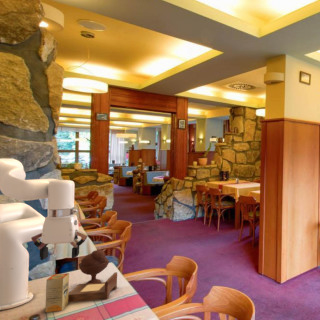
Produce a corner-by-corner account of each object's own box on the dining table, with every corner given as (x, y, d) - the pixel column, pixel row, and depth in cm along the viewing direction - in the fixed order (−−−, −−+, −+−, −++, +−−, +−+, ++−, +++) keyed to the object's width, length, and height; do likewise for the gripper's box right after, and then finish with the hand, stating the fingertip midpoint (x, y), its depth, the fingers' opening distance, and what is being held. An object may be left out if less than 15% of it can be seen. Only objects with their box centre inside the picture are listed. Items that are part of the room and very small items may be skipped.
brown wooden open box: (66, 302, 112) (66, 284, 112) (79, 290, 121) (79, 274, 121) (107, 299, 115) (107, 281, 115) (116, 288, 125) (117, 272, 125)
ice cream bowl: (105, 276, 136) (106, 245, 136) (110, 283, 129) (111, 250, 129) (76, 282, 129) (77, 249, 129) (80, 291, 121) (81, 256, 121)
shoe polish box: (68, 303, 111) (69, 273, 111) (62, 310, 106) (63, 278, 106) (52, 305, 109) (53, 274, 109) (45, 312, 104) (46, 279, 104)
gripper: (92, 210, 113) (91, 253, 113) (39, 211, 109) (38, 256, 109) (83, 214, 106) (81, 259, 106) (25, 215, 101) (24, 263, 101)
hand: (59, 257), depth 107 cm, fingers open, 9 cm apart
